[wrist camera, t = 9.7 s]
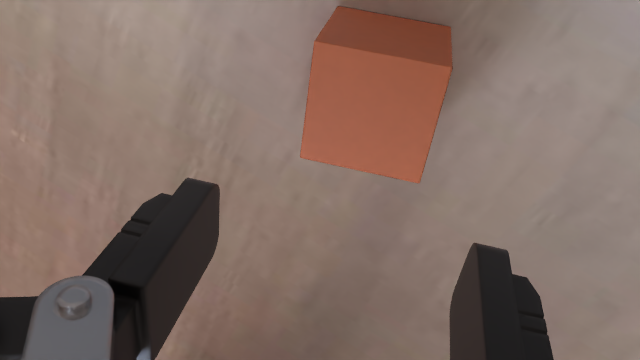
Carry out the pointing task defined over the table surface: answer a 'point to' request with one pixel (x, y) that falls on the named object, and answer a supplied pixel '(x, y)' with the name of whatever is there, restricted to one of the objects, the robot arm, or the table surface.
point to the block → (376, 92)
